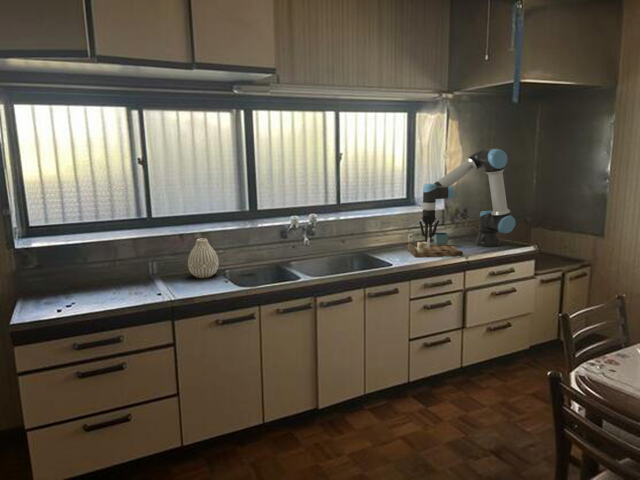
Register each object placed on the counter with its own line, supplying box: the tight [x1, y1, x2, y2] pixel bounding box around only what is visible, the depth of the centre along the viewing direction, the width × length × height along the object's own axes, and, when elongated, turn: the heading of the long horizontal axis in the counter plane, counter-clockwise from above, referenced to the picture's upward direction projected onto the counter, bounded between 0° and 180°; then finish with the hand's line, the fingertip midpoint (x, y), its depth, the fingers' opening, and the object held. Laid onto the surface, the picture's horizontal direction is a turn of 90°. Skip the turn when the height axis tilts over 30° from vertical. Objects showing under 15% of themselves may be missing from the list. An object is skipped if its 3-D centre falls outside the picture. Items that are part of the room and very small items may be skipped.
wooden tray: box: [407, 243, 463, 258], centre depth 305 cm, size 29×20×5 cm
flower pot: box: [433, 232, 450, 245], centre depth 324 cm, size 9×9×9 cm
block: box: [416, 241, 427, 252], centre depth 301 cm, size 5×5×5 cm
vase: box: [187, 237, 220, 279], centre depth 258 cm, size 16×16×20 cm
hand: (427, 247), depth 300 cm, fingers closed
